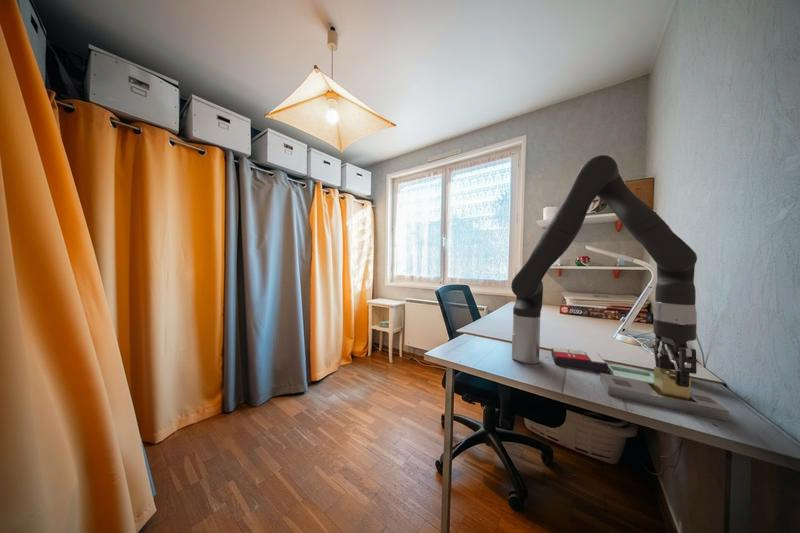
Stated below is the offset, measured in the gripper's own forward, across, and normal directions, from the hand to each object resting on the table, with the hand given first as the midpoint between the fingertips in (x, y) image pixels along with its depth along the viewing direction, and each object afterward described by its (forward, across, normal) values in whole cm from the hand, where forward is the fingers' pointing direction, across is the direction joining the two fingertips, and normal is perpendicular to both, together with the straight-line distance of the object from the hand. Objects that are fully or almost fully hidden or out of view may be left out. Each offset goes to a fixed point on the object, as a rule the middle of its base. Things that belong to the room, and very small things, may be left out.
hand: (672, 378), depth 63 cm
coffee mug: (+7, -20, +9) cm, 23 cm away
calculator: (+7, -17, -18) cm, 26 cm away
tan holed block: (+6, 0, 0) cm, 6 cm away
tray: (+6, -11, -4) cm, 13 cm away
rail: (+6, 0, -3) cm, 7 cm away
